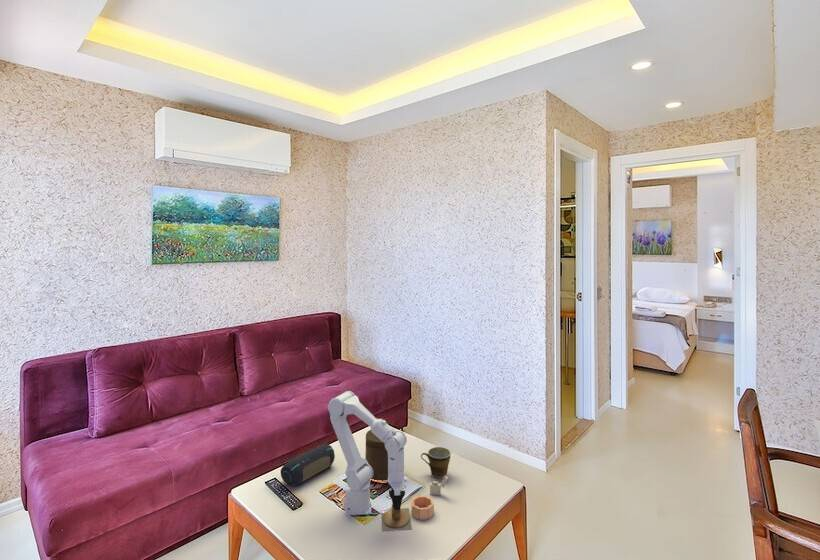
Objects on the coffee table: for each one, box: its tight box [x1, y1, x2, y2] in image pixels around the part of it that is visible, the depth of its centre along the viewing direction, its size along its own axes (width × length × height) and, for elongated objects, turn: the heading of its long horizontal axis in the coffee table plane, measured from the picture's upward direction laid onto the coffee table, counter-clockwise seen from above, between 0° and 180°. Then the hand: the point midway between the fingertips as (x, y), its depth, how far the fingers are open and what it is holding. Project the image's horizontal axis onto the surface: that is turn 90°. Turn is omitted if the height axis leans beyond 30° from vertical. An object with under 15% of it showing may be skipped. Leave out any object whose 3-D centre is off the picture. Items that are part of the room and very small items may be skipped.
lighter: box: [429, 475, 449, 496], centre depth 168 cm, size 7×2×8 cm, turn 81°
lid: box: [383, 503, 409, 528], centre depth 152 cm, size 10×10×5 cm
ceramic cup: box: [420, 446, 452, 479], centre depth 182 cm, size 13×10×10 cm
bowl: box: [410, 495, 435, 520], centre depth 156 cm, size 8×8×4 cm
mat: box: [380, 507, 413, 532], centre depth 152 cm, size 10×12×1 cm
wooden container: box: [364, 428, 396, 481], centre depth 182 cm, size 15×15×22 cm
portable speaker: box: [280, 443, 336, 487], centre depth 182 cm, size 25×10×10 cm, turn 143°
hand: (396, 502), depth 152 cm, fingers open, 7 cm apart
